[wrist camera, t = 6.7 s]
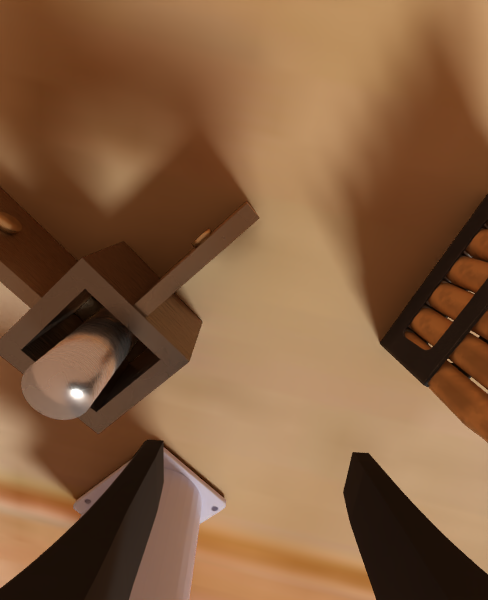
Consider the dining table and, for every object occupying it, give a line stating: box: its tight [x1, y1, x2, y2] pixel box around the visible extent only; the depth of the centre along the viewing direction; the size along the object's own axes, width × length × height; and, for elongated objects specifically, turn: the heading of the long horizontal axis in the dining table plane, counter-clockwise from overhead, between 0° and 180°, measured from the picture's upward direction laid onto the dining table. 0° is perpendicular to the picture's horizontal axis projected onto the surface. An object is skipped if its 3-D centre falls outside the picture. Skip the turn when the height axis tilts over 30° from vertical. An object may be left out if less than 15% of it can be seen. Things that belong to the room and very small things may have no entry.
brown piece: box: [0, 187, 259, 434], centre depth 16 cm, size 14×14×5 cm
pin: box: [21, 307, 138, 420], centre depth 16 cm, size 3×3×8 cm
